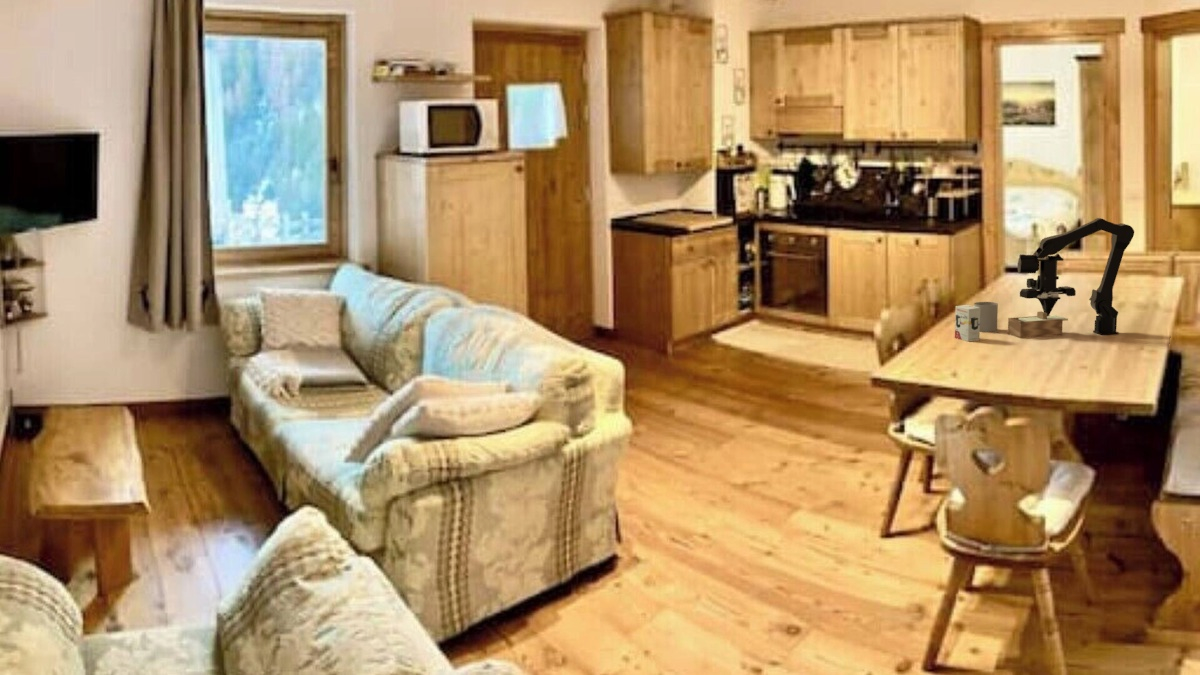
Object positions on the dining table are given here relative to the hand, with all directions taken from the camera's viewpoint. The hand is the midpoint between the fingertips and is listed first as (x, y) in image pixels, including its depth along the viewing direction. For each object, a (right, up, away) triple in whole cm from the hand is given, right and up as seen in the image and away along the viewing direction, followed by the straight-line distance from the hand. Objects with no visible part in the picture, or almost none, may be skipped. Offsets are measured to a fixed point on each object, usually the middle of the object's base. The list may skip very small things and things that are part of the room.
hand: (1046, 316), depth 434 cm
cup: (-18, -5, +12) cm, 23 cm away
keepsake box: (-4, -7, 0) cm, 8 cm away
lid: (-1, -1, 0) cm, 2 cm away
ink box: (-30, -9, -3) cm, 31 cm away
